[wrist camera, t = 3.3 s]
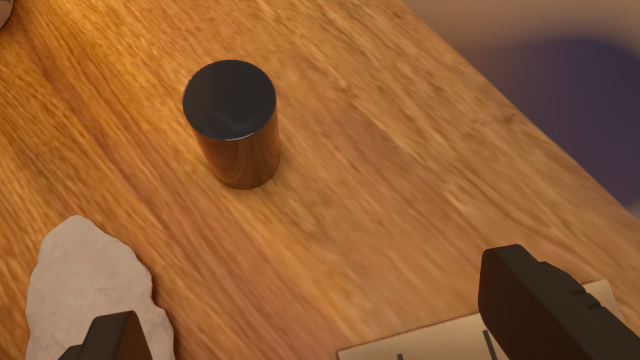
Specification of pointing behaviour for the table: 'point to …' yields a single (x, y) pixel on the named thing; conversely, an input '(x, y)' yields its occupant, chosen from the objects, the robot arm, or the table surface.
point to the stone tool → (88, 291)
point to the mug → (5, 10)
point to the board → (455, 337)
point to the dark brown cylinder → (234, 121)
